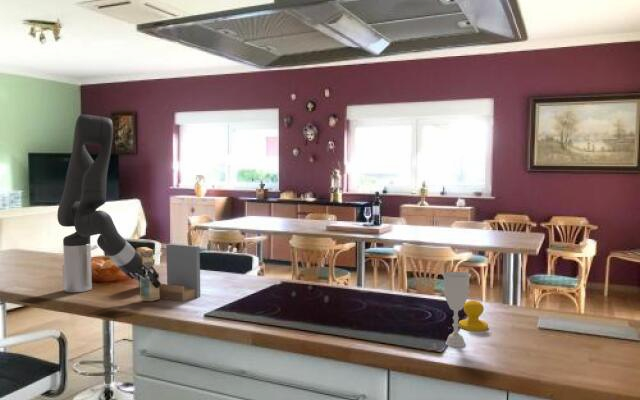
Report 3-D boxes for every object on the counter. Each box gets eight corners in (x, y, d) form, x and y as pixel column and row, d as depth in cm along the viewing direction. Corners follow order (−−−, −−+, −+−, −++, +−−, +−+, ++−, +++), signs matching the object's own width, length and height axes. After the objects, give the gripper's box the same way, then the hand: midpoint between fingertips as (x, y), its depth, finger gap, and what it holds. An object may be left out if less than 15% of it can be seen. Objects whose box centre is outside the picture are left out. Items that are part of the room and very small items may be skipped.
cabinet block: (139, 299, 181) (139, 273, 180) (148, 297, 185) (148, 271, 184) (150, 301, 178) (149, 275, 178) (159, 298, 182) (159, 273, 182)
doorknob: (454, 328, 149) (463, 321, 156) (483, 332, 145) (491, 325, 151) (455, 302, 149) (464, 296, 155) (483, 306, 144) (491, 299, 151)
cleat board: (154, 297, 186) (153, 246, 185) (170, 292, 193) (169, 243, 192) (185, 301, 180) (184, 249, 178) (200, 296, 187) (199, 246, 185)
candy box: (154, 290, 197) (153, 249, 196) (143, 291, 195) (142, 250, 194) (148, 285, 204) (147, 246, 204) (136, 287, 202) (135, 247, 201)
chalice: (465, 339, 139) (466, 271, 138) (474, 348, 132) (474, 277, 131) (438, 339, 139) (438, 272, 138) (445, 348, 132) (445, 277, 131)
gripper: (146, 248, 170) (173, 278, 181) (115, 245, 177) (143, 274, 188) (134, 267, 166) (162, 296, 177) (102, 263, 172) (131, 292, 184)
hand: (152, 285), depth 182 cm, fingers closed on cabinet block, 5 cm apart
